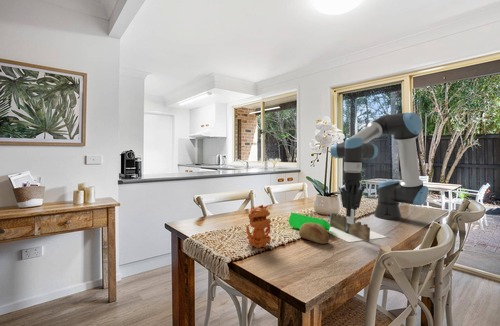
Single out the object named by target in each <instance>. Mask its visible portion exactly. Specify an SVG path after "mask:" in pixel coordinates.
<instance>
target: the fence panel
mask: <svg viewBox="0 0 500 326" xmlns="http://www.w3.org/2000/svg"><path fill="white" fill-rule="evenodd" d="M370 231H371V227H369V224H367V223H363V224H362V222H360V221H356V220H355V219H354V224H349V233H350V234H352V235H355V236H357V237H359V238H362V239H364V240H363V241H367V242H369V241H370Z"/></svg>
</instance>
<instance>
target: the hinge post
mask: <svg viewBox="0 0 500 326" xmlns="http://www.w3.org/2000/svg"><path fill="white" fill-rule="evenodd" d="M345 217H346V229H345V233H349V223H347V216H345Z"/></svg>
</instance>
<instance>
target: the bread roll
mask: <svg viewBox="0 0 500 326" xmlns="http://www.w3.org/2000/svg"><path fill="white" fill-rule="evenodd" d="M298 230H299V231H298V235H299V237H300V238H302V239H305V240H308V241H312V242H315V243H318V244H322V245H323V244H324V245H325V244H327V243H329V240H330V236H329V235H330V234H329V233H328V232H327V231H326V229H325V228H324V227H322V226H321V225H319V224H316V223H305V224H303V225H302V226H301V228H300V229H298Z"/></svg>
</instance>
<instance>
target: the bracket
mask: <svg viewBox="0 0 500 326" xmlns="http://www.w3.org/2000/svg"><path fill="white" fill-rule="evenodd" d="M305 223H316V224H319V225H321V226H322V227H324V228H325V229H326V230H328V231H329V229H330V226H331V224H330V222H328V221H326V220H325V219H323V218H318V217H313V216H309V215H305V214H299V213H296V212H291V213H290V215H289V218H288V225H289V226H290V227H292V228H295V229H297V228H298V230H300V228H301V226H302V225H303V224H305Z"/></svg>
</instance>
